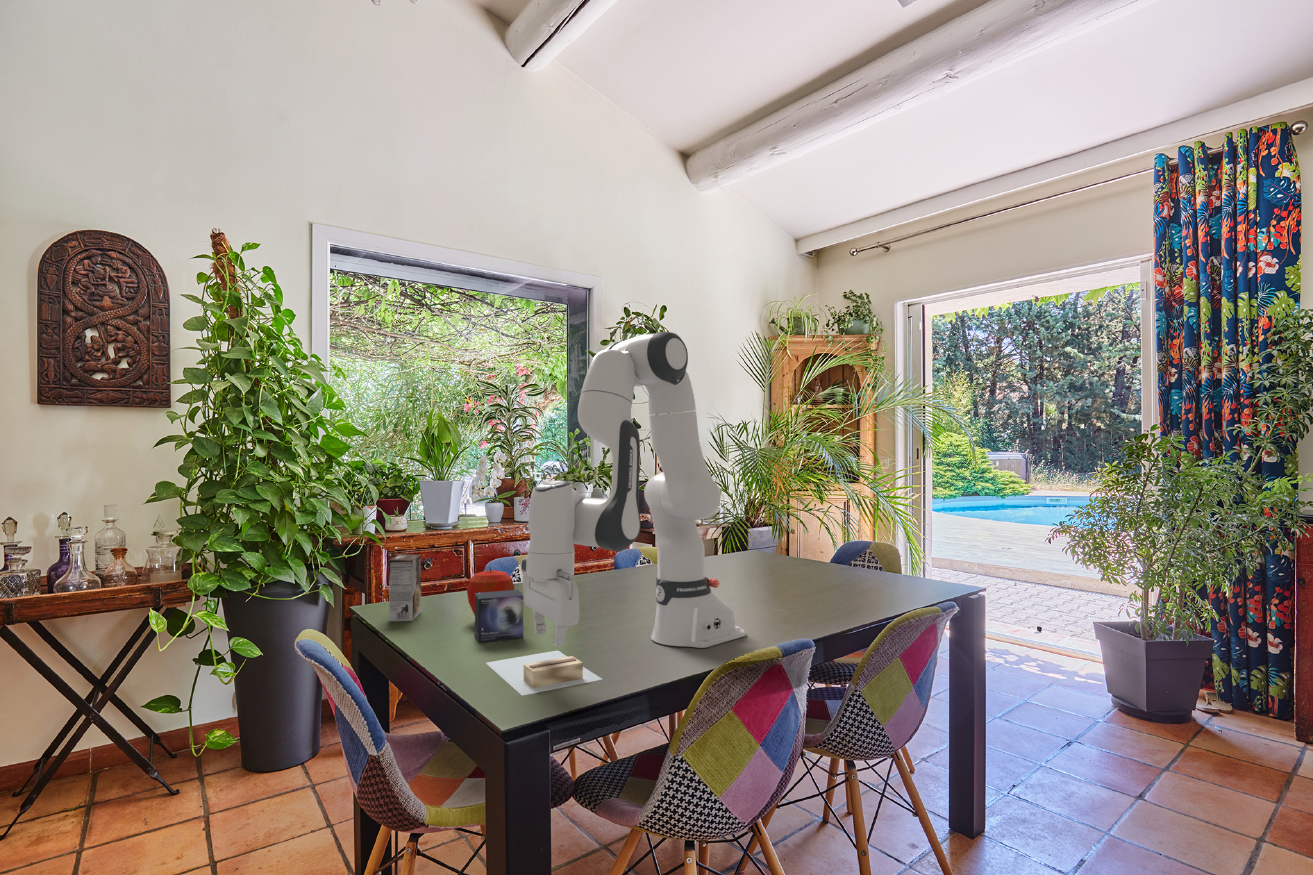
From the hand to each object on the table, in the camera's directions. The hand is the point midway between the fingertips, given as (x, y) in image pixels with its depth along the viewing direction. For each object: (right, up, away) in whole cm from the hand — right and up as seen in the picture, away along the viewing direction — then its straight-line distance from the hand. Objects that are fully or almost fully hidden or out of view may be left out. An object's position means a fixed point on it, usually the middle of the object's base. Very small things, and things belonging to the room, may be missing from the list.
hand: (549, 639), depth 128 cm
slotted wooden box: (+1, -8, 0) cm, 8 cm away
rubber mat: (-2, -8, +5) cm, 10 cm away
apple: (-23, -10, +47) cm, 53 cm away
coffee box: (-47, -10, +52) cm, 71 cm away
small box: (-17, -9, +32) cm, 37 cm away
